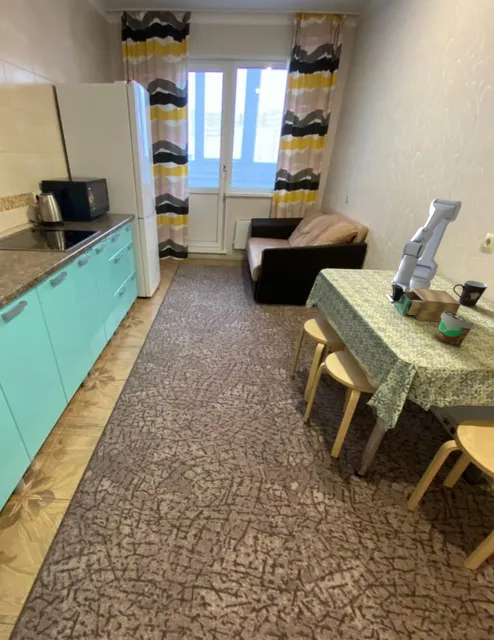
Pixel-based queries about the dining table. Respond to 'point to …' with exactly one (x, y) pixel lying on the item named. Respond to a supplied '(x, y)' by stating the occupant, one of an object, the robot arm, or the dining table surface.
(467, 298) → the coffee mug
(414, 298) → the drawer
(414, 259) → the robot arm
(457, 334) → the food container
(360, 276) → the dining table surface
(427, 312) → the cabinet
